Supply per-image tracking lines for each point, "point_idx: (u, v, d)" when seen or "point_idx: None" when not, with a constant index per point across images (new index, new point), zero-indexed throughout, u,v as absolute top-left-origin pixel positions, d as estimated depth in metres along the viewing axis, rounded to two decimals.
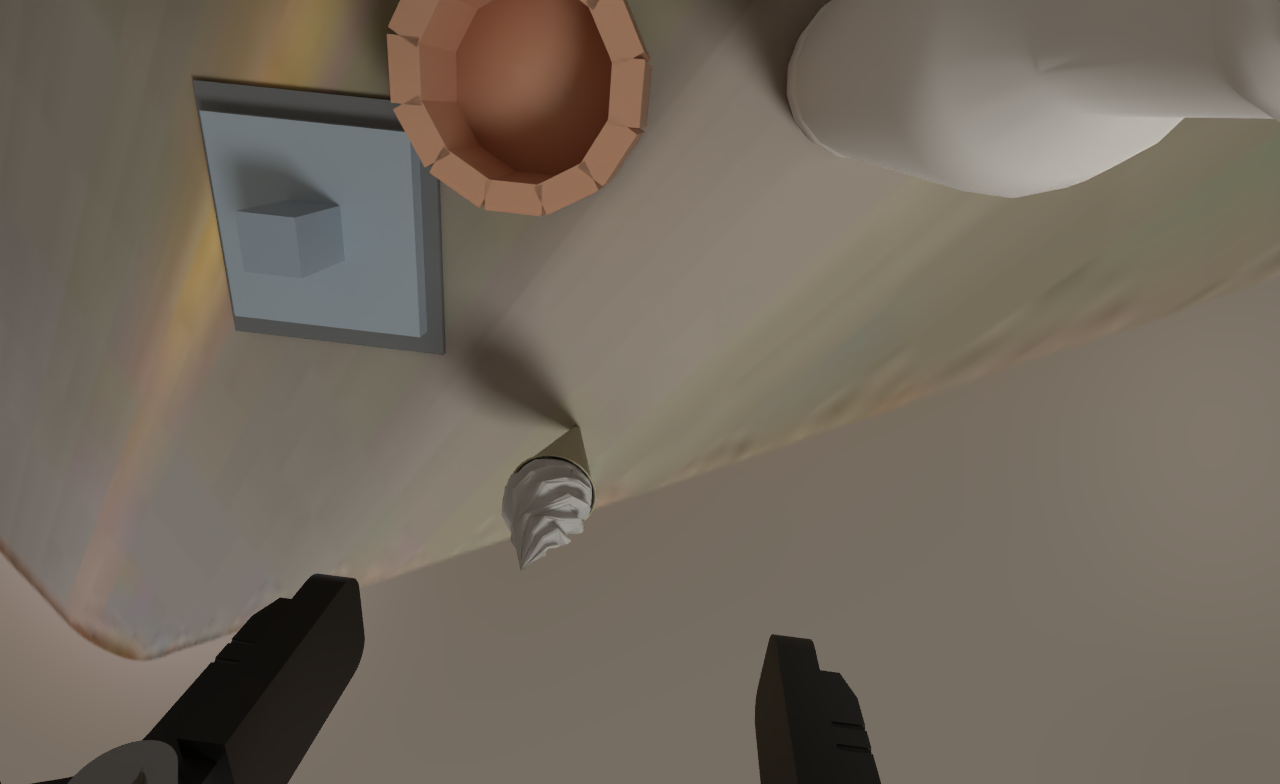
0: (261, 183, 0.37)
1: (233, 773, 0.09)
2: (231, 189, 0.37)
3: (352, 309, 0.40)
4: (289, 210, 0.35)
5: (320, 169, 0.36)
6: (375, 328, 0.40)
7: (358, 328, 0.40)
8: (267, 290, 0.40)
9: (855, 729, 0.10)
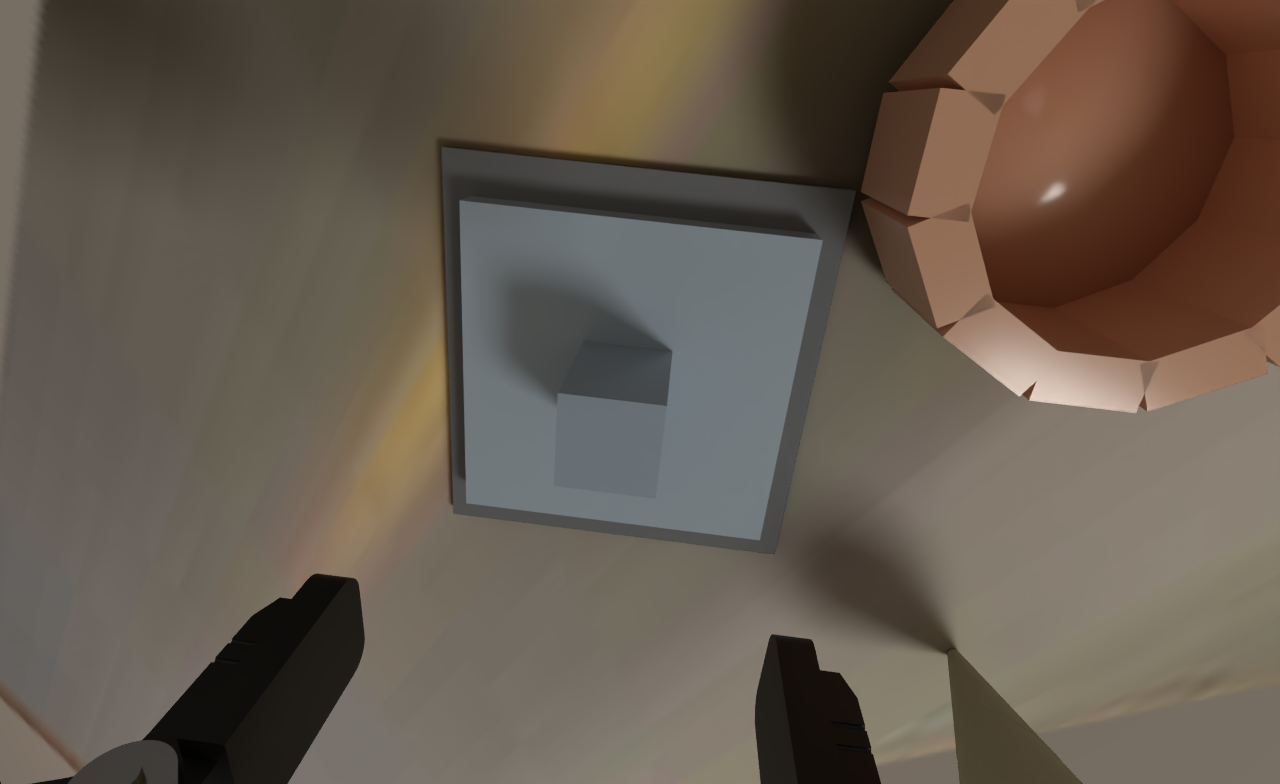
0: (545, 315, 0.22)
1: (233, 773, 0.09)
2: (493, 322, 0.23)
3: (659, 499, 0.25)
4: (628, 378, 0.20)
5: (651, 295, 0.22)
6: (690, 526, 0.26)
7: (662, 525, 0.26)
8: (524, 470, 0.25)
9: (855, 729, 0.10)
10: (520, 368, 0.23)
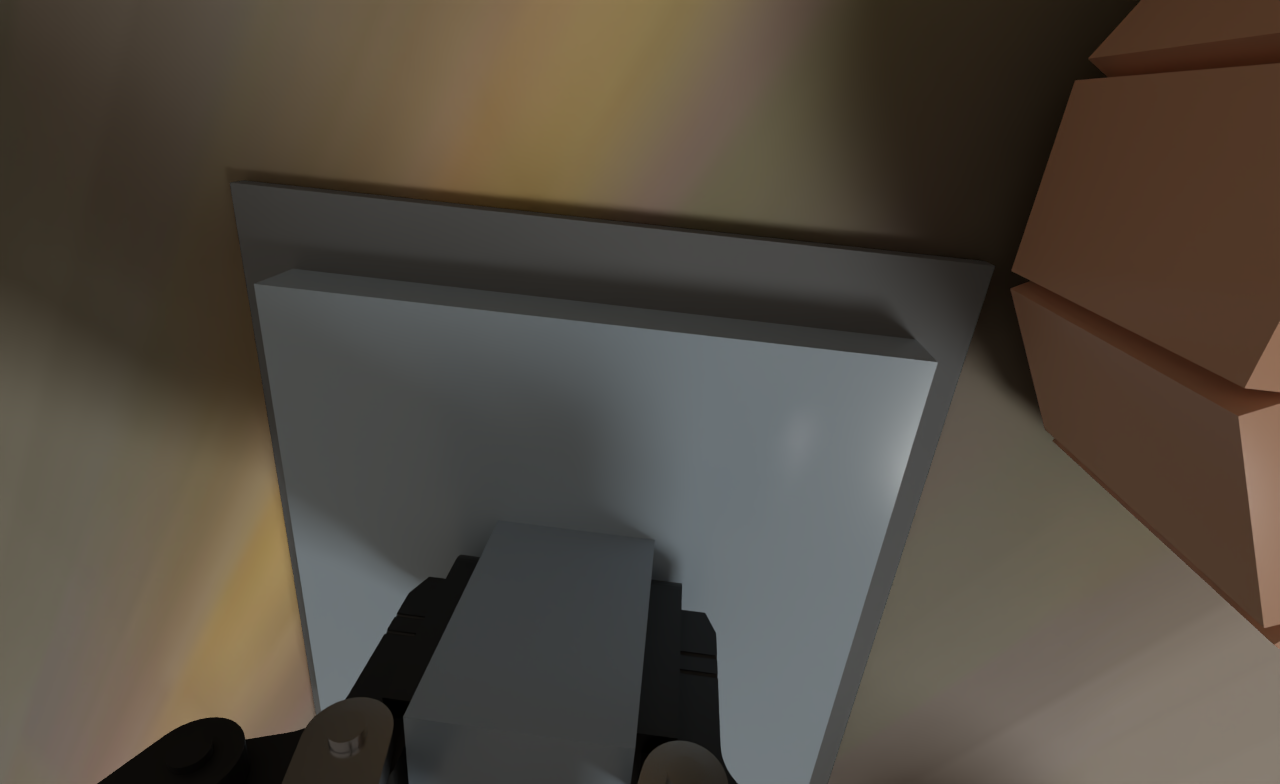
0: (428, 480, 0.13)
1: None
2: (339, 489, 0.13)
3: None
4: (564, 640, 0.10)
5: (615, 451, 0.12)
6: None
7: None
8: None
9: (707, 658, 0.11)
10: (394, 560, 0.14)
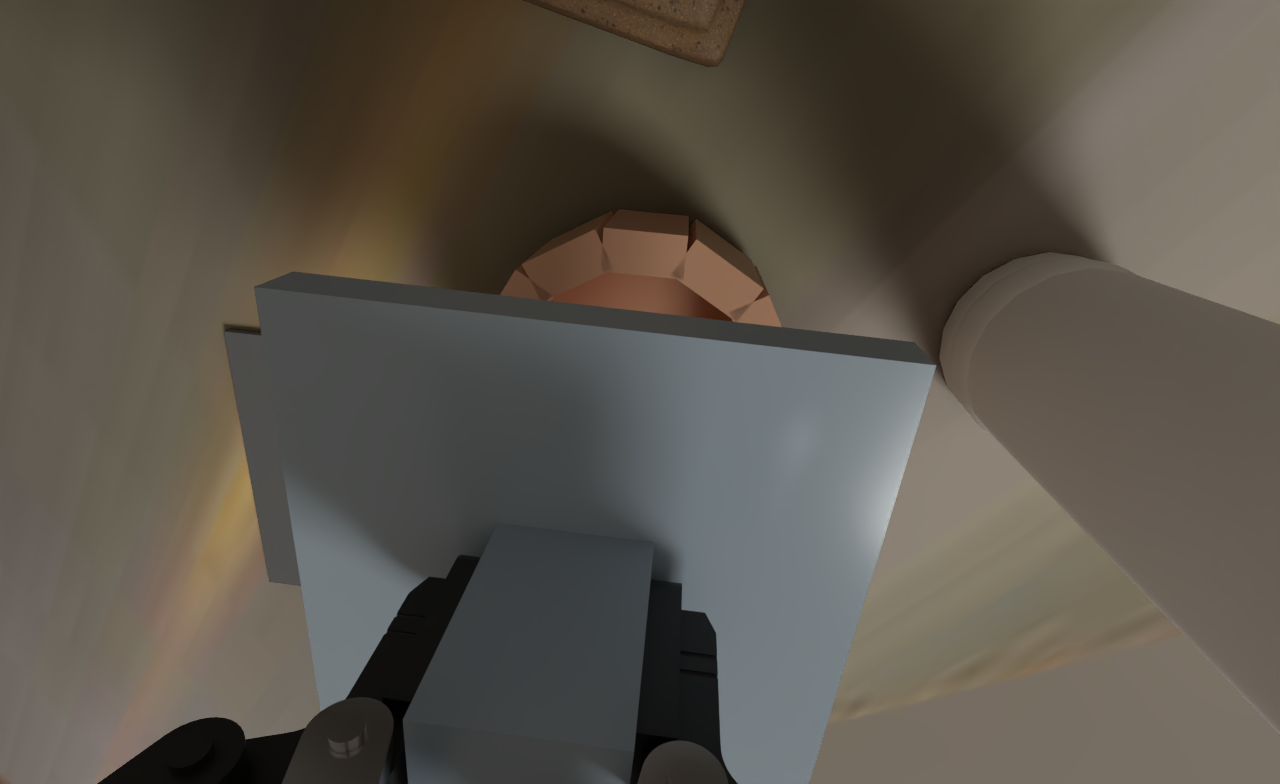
0: (427, 482, 0.13)
1: None
2: (339, 490, 0.13)
3: None
4: (563, 642, 0.10)
5: (614, 453, 0.12)
6: None
7: None
8: None
9: (707, 658, 0.11)
10: (394, 562, 0.14)
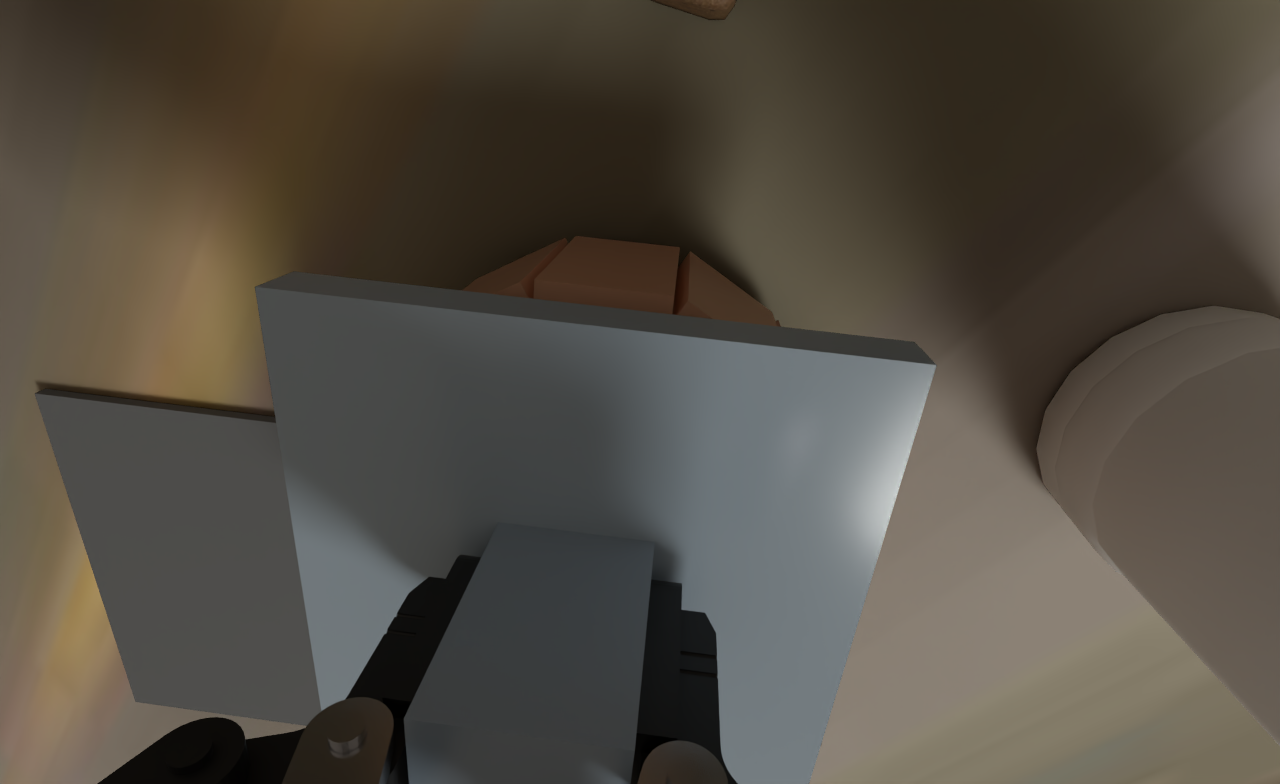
0: (428, 482, 0.13)
1: None
2: (339, 490, 0.13)
3: None
4: (564, 642, 0.10)
5: (614, 453, 0.12)
6: None
7: None
8: None
9: (707, 658, 0.11)
10: (395, 562, 0.14)
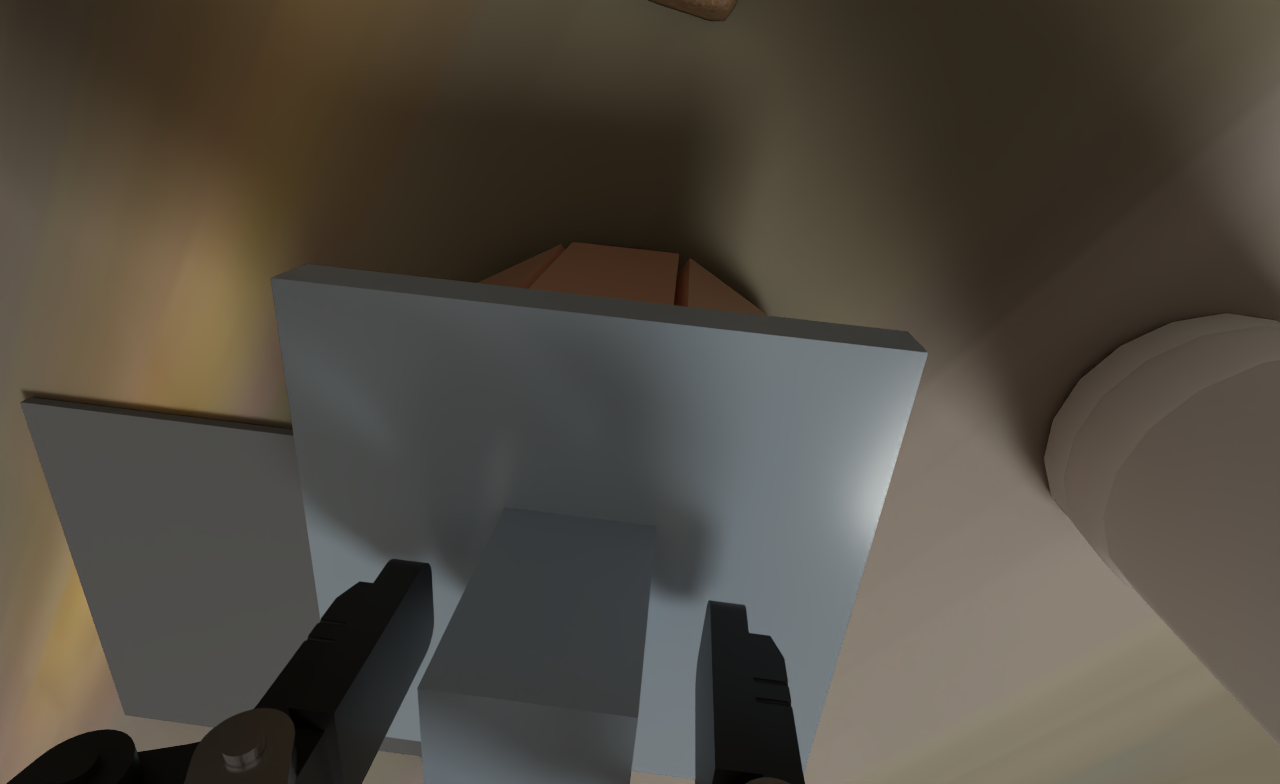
0: (436, 468, 0.13)
1: (338, 741, 0.10)
2: (351, 476, 0.13)
3: (637, 735, 0.16)
4: (569, 618, 0.11)
5: (617, 439, 0.12)
6: (687, 772, 0.16)
7: (643, 769, 0.16)
8: None
9: (778, 685, 0.11)
10: (404, 546, 0.14)
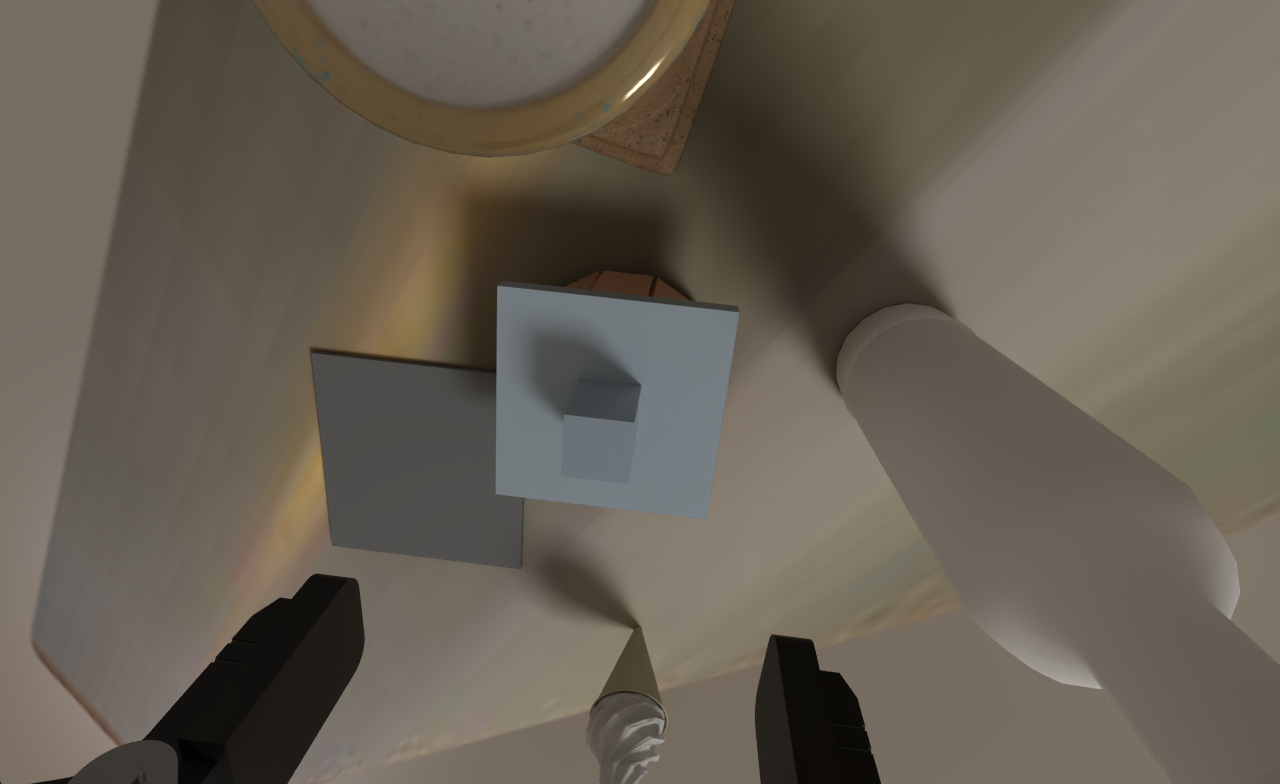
0: (553, 361, 0.33)
1: (233, 773, 0.09)
2: (518, 366, 0.33)
3: (634, 490, 0.35)
4: (610, 404, 0.30)
5: (626, 348, 0.32)
6: (656, 509, 0.36)
7: (637, 509, 0.36)
8: (538, 469, 0.35)
9: (855, 729, 0.10)
10: (536, 397, 0.34)
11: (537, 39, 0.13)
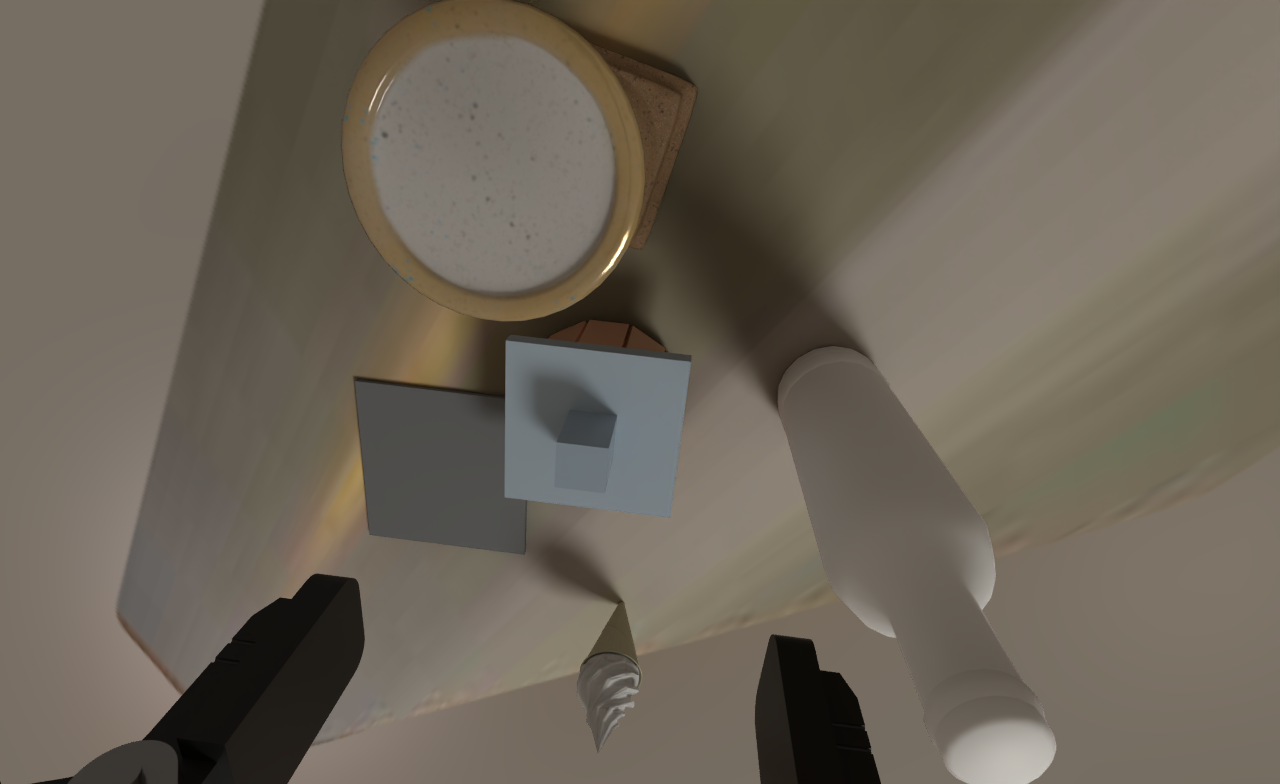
0: (549, 397, 0.42)
1: (233, 772, 0.09)
2: (521, 400, 0.43)
3: (613, 494, 0.45)
4: (591, 433, 0.40)
5: (605, 387, 0.42)
6: (630, 510, 0.46)
7: (615, 509, 0.46)
8: (538, 478, 0.45)
9: (855, 729, 0.10)
10: (536, 424, 0.43)
11: (532, 259, 0.22)
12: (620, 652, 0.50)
